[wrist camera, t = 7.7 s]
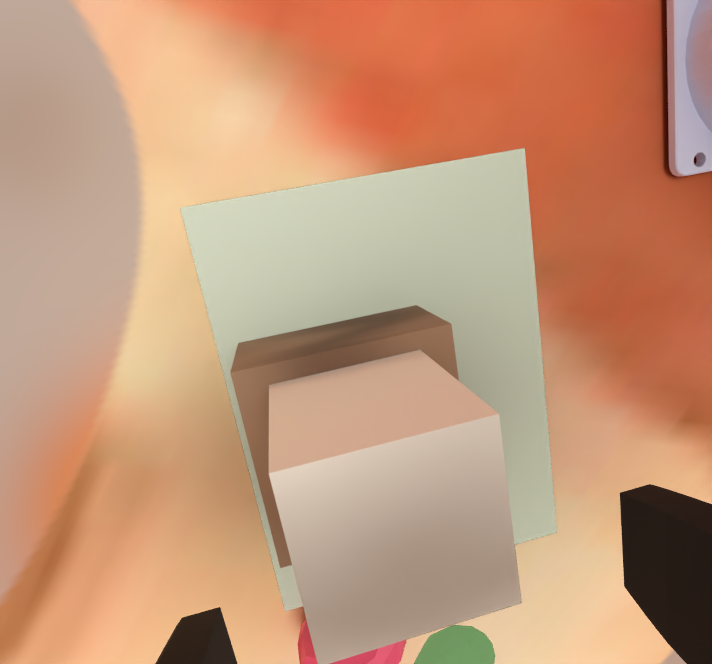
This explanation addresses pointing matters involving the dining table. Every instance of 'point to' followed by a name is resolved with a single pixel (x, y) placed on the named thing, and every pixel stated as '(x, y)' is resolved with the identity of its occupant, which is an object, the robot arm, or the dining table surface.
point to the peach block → (390, 502)
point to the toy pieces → (436, 659)
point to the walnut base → (321, 354)
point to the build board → (394, 291)
